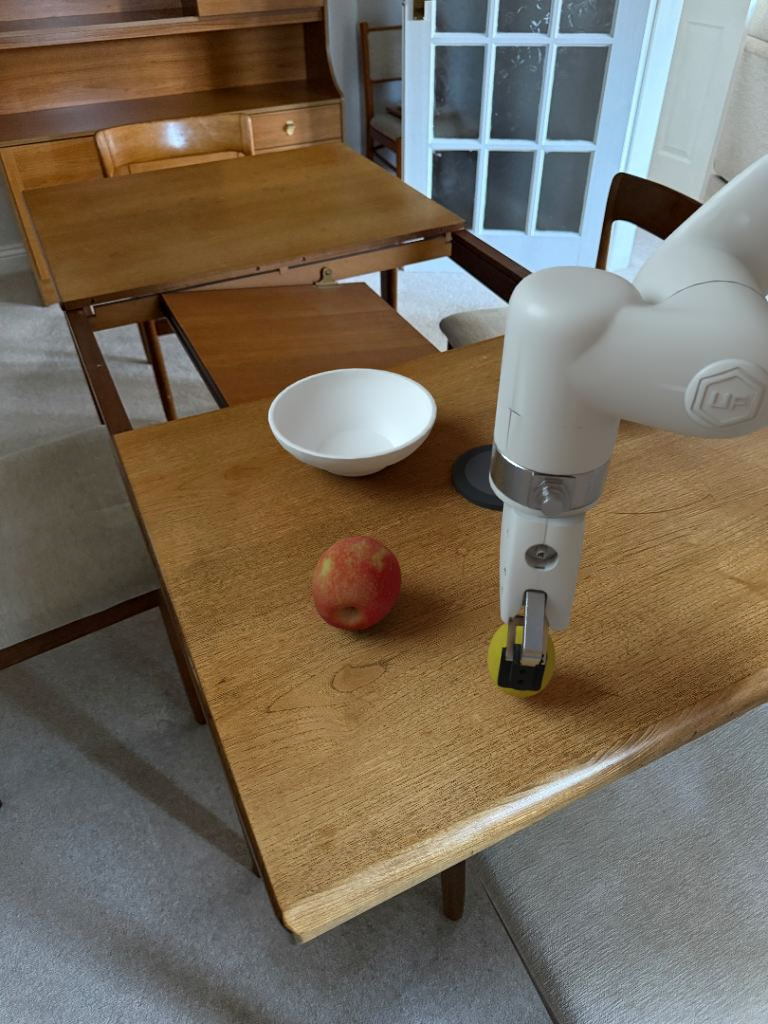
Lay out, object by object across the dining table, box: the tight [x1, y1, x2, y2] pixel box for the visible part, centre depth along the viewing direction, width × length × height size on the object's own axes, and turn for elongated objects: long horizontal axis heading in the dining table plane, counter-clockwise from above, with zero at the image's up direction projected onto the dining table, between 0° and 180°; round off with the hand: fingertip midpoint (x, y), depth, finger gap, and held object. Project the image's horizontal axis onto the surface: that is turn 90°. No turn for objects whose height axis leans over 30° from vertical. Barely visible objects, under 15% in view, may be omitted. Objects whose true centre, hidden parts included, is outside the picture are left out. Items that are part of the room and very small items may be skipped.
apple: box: [311, 535, 402, 631], centre depth 68 cm, size 8×8×8 cm
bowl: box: [267, 367, 438, 477], centre depth 88 cm, size 20×20×7 cm
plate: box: [451, 443, 504, 512], centre depth 86 cm, size 12×12×1 cm
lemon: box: [486, 623, 557, 698], centre depth 61 cm, size 6×6×8 cm
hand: (518, 636), depth 59 cm, fingers open, 9 cm apart
